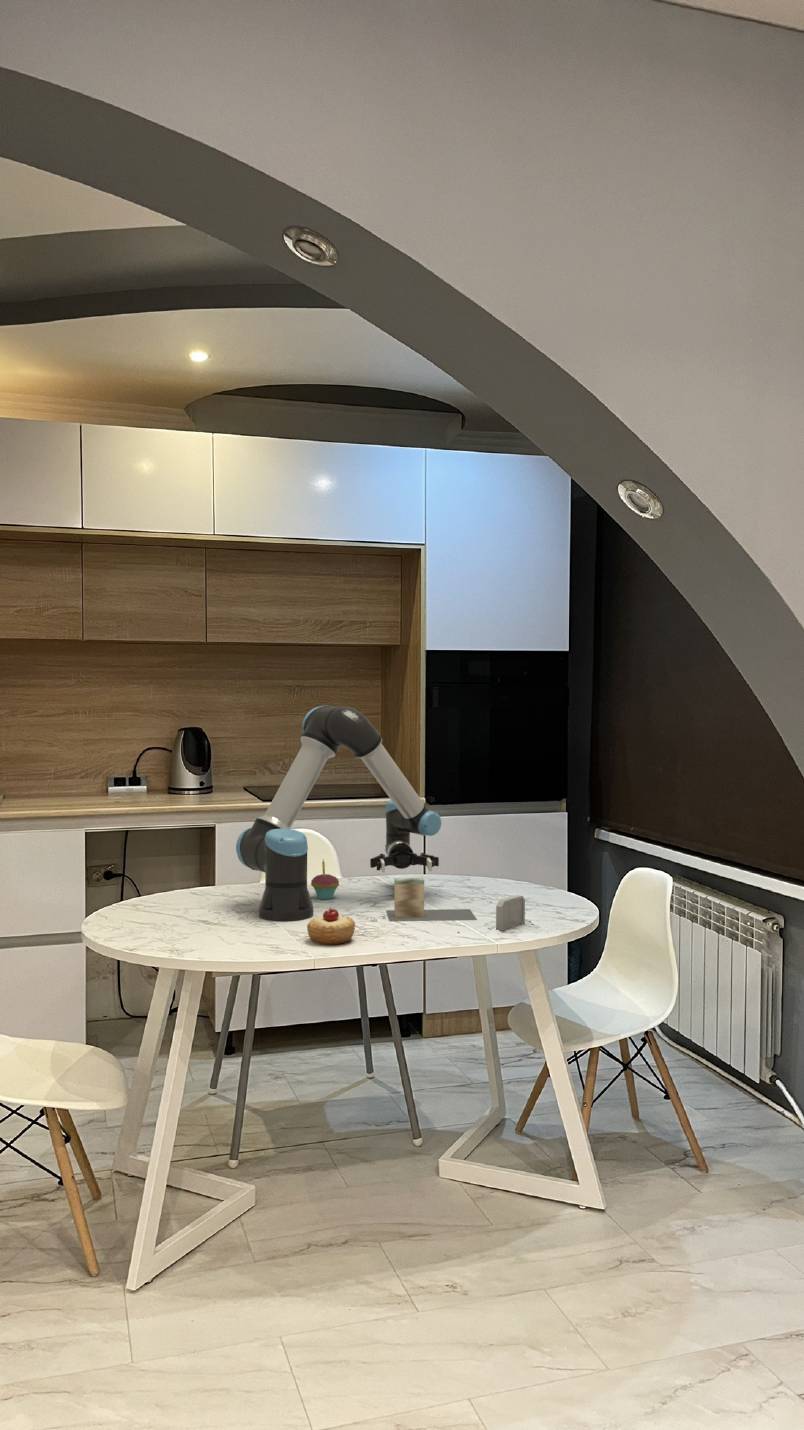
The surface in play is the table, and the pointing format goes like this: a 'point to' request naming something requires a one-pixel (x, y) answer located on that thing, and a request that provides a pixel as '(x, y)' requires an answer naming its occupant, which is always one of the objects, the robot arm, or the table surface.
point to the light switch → (510, 912)
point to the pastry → (331, 928)
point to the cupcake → (325, 884)
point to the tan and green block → (409, 897)
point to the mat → (436, 915)
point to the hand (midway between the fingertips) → (407, 867)
